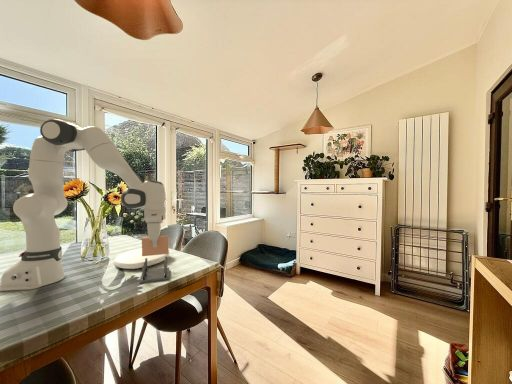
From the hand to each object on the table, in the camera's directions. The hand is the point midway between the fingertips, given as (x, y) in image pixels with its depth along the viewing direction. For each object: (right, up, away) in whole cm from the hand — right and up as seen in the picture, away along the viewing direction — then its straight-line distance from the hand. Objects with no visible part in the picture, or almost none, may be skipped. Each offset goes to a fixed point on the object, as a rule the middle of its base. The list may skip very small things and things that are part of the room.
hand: (155, 245), depth 105 cm
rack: (-1, -15, +3) cm, 15 cm away
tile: (0, -4, 0) cm, 4 cm away
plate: (-17, -15, +23) cm, 32 cm away
